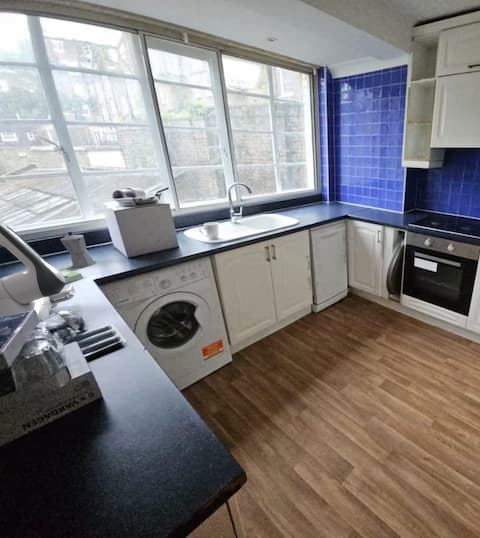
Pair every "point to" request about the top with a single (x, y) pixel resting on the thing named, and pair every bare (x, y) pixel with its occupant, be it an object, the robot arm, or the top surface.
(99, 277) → the top surface
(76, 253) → the coffeepot
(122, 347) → the top surface
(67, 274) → the scale
